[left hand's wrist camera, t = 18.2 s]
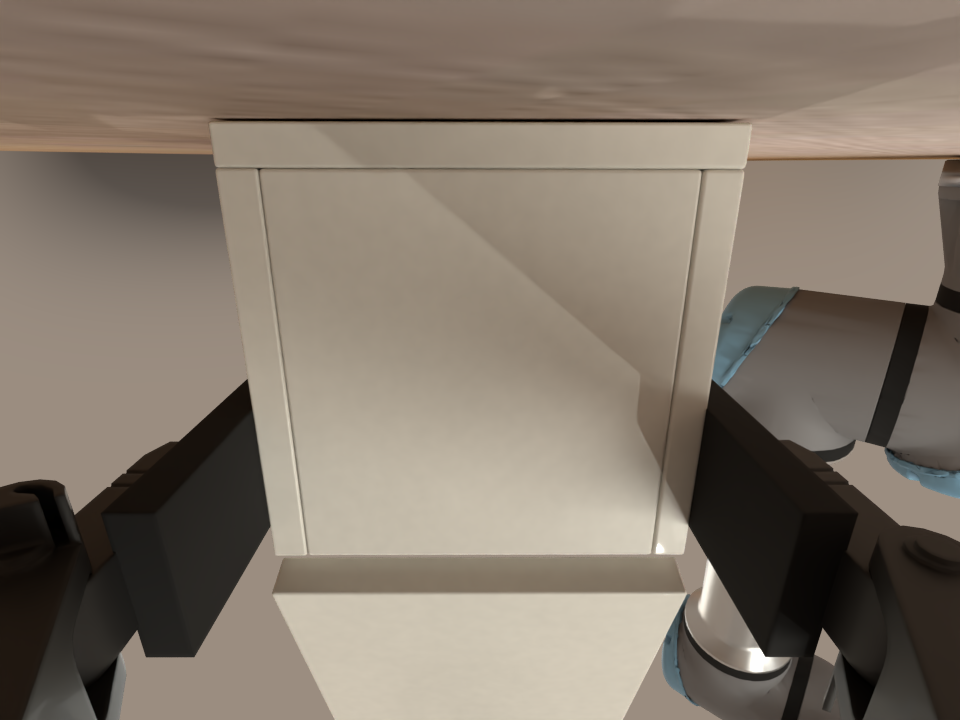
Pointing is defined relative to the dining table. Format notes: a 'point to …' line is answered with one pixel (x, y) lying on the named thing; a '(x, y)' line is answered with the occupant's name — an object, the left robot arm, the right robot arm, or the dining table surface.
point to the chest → (479, 327)
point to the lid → (479, 633)
